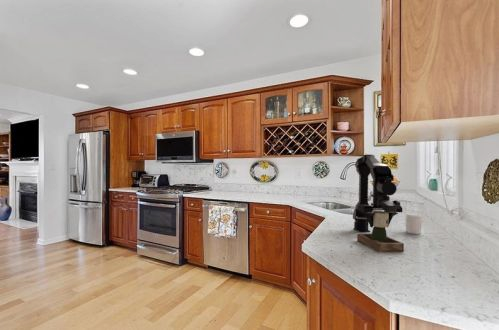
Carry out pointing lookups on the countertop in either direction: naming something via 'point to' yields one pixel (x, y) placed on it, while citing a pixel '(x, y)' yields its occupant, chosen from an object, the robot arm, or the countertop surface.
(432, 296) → the countertop surface
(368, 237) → the box
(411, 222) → the white cup
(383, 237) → the character mug
